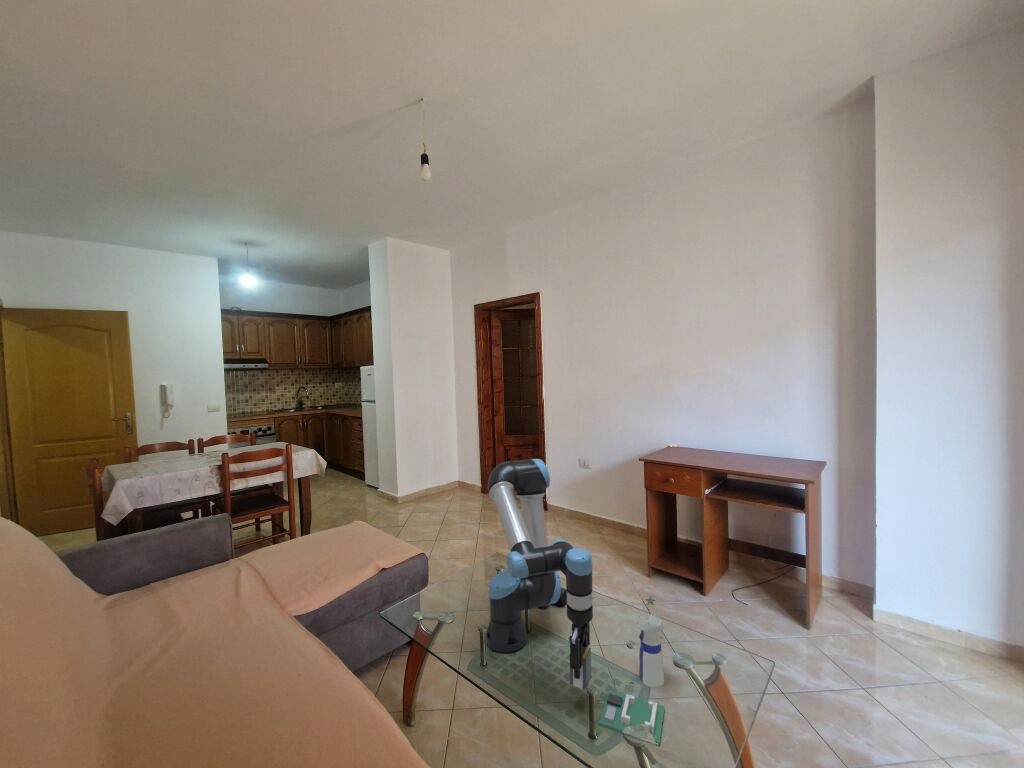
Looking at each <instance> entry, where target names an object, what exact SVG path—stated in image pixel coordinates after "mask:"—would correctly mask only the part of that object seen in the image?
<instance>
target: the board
mask: <svg viewBox="0 0 1024 768" xmlns="http://www.w3.org/2000/svg"><path fill="white" fill-rule="evenodd" d="M607 693H608V694H607V697H606V698H605V699H606V700H605V702H604V706H603V709H602V712H601V714H600V718H599V723H598V725H599V726H601V727H603V728H606V729H608V730H611V729H612V731H614V730H615V732H618V733H620V734H623V733H622V731H623V730H624V728H625V727H628V726H634V725H635V724H638V723H639V724H644V725H645V729H646V730H647V731H648V732H650V733H651V734H652V735H653V737H654V740H655V742H656V743H658V744H660V745H661V739H660V737H661V736H662V732H663V731H662V730H663V725H662V722H663V723H664V717H663V715H664V716H665V705H662V704H659V703H657V702H654V701H650V700H645V699H641V698H638V697H635V696H634V695H631V694H629V693H622V692H618V691H616V690H612V689H609V690H608V692H607ZM661 731H662V732H661ZM661 738H662V737H661Z"/></svg>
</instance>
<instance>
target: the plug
mask: <svg viewBox="0 0 1024 768" xmlns="http://www.w3.org/2000/svg"><path fill="white" fill-rule="evenodd" d="M591 649H592V648H590V647H589V646H588V647H584V646H582V666H583V688H582V689H584V690H587V689H588V688H589V684H590V681H591V678H592V650H591ZM569 657H570V654H569ZM569 684H570V685H572V686H573V669H571V668H570V667H569Z"/></svg>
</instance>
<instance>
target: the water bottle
mask: <svg viewBox="0 0 1024 768" xmlns="http://www.w3.org/2000/svg"><path fill="white" fill-rule="evenodd" d="M644 599H645V600H646V601H647V604H646V605H647V606H648V605H652V606H654V602H655V601H656V599H655V598H653V597H652V596H651V595H650V596H649V597H647V598H646V597H645V598H644ZM635 626H636V628H637V629H638V630H640V632H639V636H638V637H639V639H640V646H639V652H638V653H639V671H638V672H639V673H638V677H639V680H640V681H641V683H643V684H644V685H646V686H647V687H650V688H661V687H663V685H664V684H665V671H664V655H663V654H664V653H663V650H662V642H663V637H662V635H661V632H662V630H664V628H665V625H664V623H663V621H662V618H661V617H659V615H657V614H655V613H650V615H649V619H648V623H647V624H646V621H645V618H644V617H643V614H638V616H637V619H636V625H635Z"/></svg>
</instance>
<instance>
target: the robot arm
mask: <svg viewBox="0 0 1024 768" xmlns="http://www.w3.org/2000/svg"><path fill="white" fill-rule="evenodd" d="M550 482H551V477H550V473H549V470H548V467H547V465H546V463H545V462H544V461H543V460H542V459H540V458H529V459H521V460H512V461H511V460H510V461H507V460H506V461H502V462H501V463H499V464H497V465H496V466H495V467H494V468H493V470H492V471H491V472H490V475H489V477H488V480H487V492H488V495H489V498H490V499H491V500H492V501H493V502H494V505H495V509H496V512H497V514H498V518H499V521H500V523H501V527H502V529H503V533H504V536H505V539H506V542H507V545H508V549H509V551H510V552H509V553H507V554H506V566H507V570H505V571H501V572H499V573H496V574H494V576H493V577H492V578H491V579H489V580H490V581H489V584H488V600H489V601H488V602H489V621H488V626H487V629H486V632H485V643H486V645H487V646H488V647H489V648H490V649H491V650H492V651H496V652H497V653H512V652H515V651H518V650H520V649H522V648H523V647H524V646H525V645H526V643H527V641H528V632H527V628H526V626H525V623H524V621H523V618H522V611H525V610H531V609H536V608H538V607H541V606H547V607H549V606H550V605H555V604H554V603H556V602H557V601H558V599H559V597H560V593H561V587H562V583H561V581H560V580H561V579H560V574H559V572H561V573H562V574H563V575H564V576H565V581H566V588H565V589H566V602H567V603H566V616H567V619H569V621H570V622H571V635H569V637H568V640H569V655H570V656H569V669H570V668H571V669H573V685H572V686H573V687H576V688H579V689H581V690H583V689H584V688H583V666H582V646H584V647H589V646H590V645H591V641H590V640H591V636H590V635H591V633H590V631H591V630H590V628H591V626H590V622H591V621H592V620H593V616H594V610H593V600H595V596H594V595H593V562H592V561H593V560H592V554H591V553H590V551H588V550H587V549H584V548H581V547H579V548H578V547H576V548H575V547H574V546H573V545H572V544H571V543H570V542H568V541H566V540H565V539H562V538H557V539H555V540H553V541H552V542H550V544H549V545H548V541H547V540H548V538H547V531H546V530H547V529H546V520H545V511H544V499H543V497H545V495H546V493H547V492H546V490H547V489H548V488H549V487H550V485H551V484H550ZM514 493H515V494H514ZM515 495H516V497H517V498H518V499H520V506H521V508H520V507H519V504H518V502H517V500H516V499H517V498H516V497H515ZM548 605H549V606H548Z"/></svg>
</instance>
